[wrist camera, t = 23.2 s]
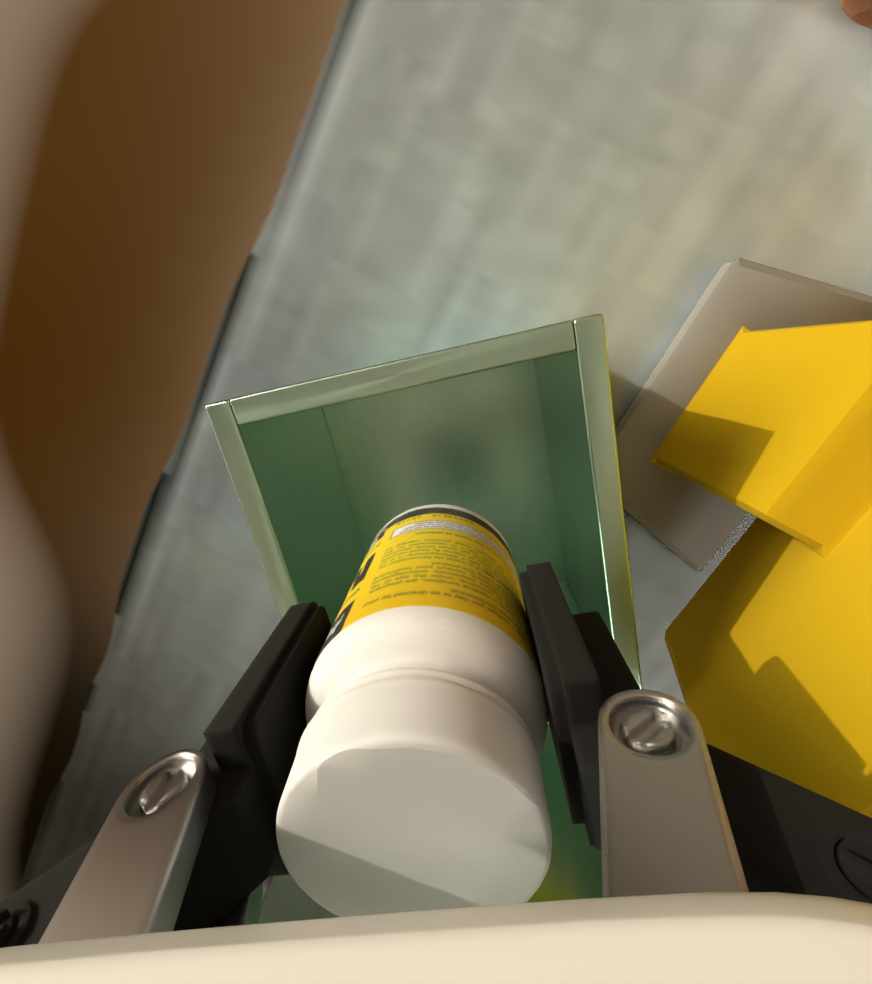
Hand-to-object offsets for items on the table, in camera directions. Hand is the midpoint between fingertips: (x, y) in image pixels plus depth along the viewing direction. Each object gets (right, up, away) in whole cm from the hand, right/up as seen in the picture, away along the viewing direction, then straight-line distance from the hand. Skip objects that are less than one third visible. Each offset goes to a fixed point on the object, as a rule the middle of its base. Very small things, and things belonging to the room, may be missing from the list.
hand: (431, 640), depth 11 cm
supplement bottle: (0, +1, +4) cm, 4 cm away
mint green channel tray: (+1, +4, +12) cm, 12 cm away
